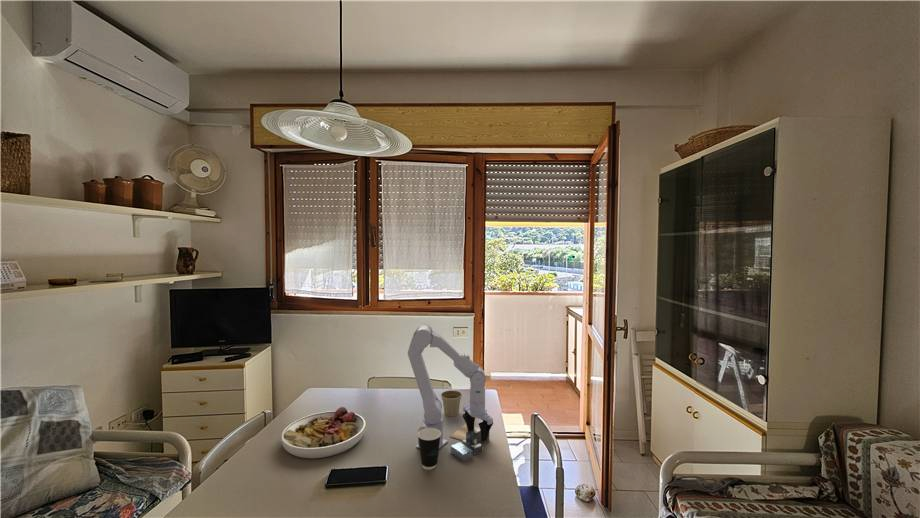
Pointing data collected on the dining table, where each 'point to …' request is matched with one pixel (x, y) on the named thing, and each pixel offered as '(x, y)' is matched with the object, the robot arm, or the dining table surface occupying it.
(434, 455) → the dixie cup
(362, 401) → the dining table surface
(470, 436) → the uneven u-shaped block
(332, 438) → the bowl
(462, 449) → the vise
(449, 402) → the flower pot
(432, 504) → the dining table surface
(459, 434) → the plate
